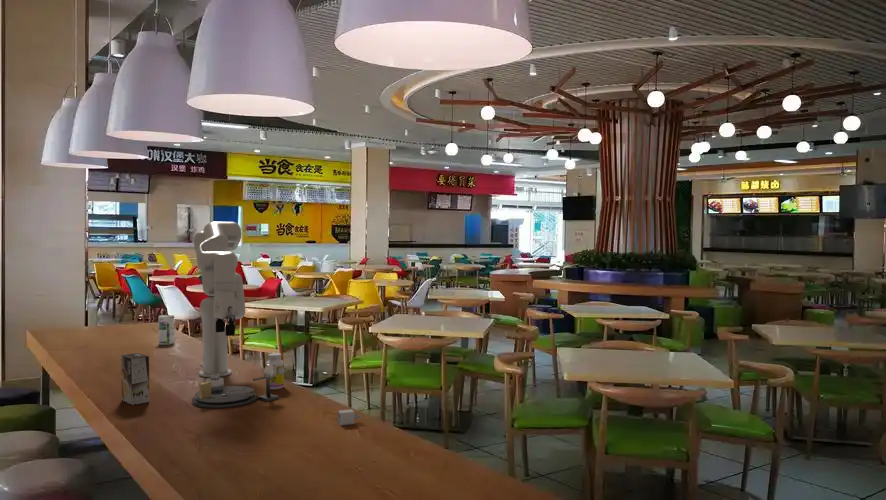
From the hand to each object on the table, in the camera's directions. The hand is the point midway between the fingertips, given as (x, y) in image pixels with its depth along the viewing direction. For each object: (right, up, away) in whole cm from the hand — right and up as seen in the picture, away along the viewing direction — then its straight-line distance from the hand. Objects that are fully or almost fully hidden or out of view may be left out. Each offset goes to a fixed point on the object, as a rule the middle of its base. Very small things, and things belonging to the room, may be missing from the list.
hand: (225, 333), depth 250 cm
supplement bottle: (+16, -22, +9) cm, 28 cm away
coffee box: (-28, -22, -11) cm, 37 cm away
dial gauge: (+16, -22, -9) cm, 29 cm away
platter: (+3, -21, -9) cm, 23 cm away
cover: (-2, -19, -5) cm, 20 cm away
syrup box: (-61, -17, +98) cm, 117 cm away
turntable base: (+3, -22, -9) cm, 24 cm away
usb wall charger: (+50, -24, -35) cm, 66 cm away
